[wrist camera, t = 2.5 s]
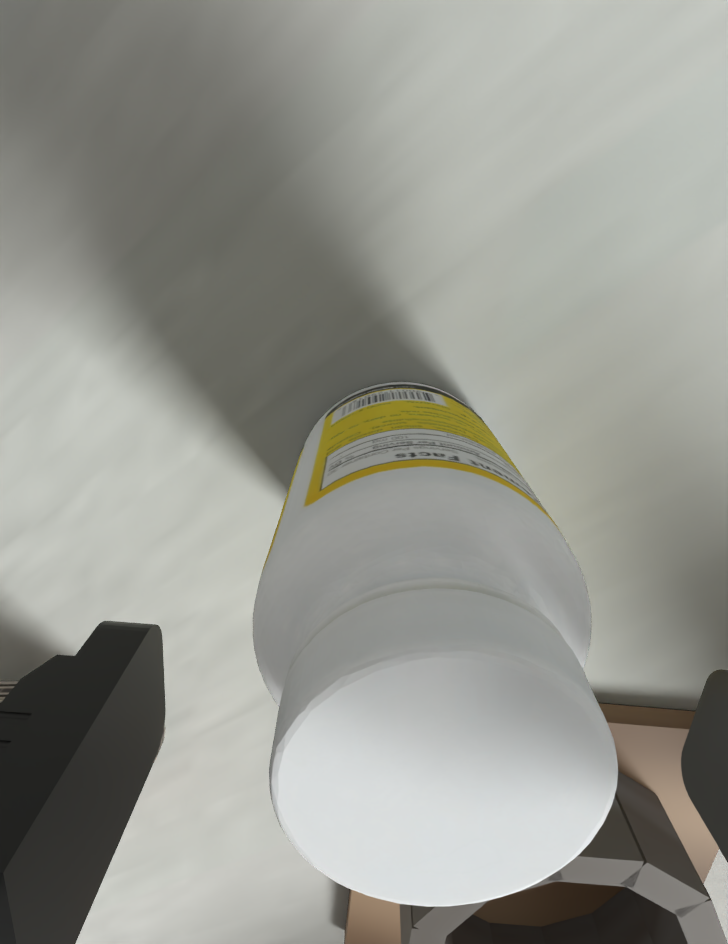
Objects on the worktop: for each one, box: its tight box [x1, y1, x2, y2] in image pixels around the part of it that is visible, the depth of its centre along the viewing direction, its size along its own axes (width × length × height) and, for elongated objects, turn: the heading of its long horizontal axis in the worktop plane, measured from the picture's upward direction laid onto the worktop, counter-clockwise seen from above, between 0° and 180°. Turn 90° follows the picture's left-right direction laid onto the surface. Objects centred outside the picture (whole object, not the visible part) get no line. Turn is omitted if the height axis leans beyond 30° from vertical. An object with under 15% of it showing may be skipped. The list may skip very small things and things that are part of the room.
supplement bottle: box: [253, 382, 618, 907], centre depth 11 cm, size 5×5×10 cm
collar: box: [344, 703, 728, 944], centre depth 18 cm, size 12×12×4 cm
